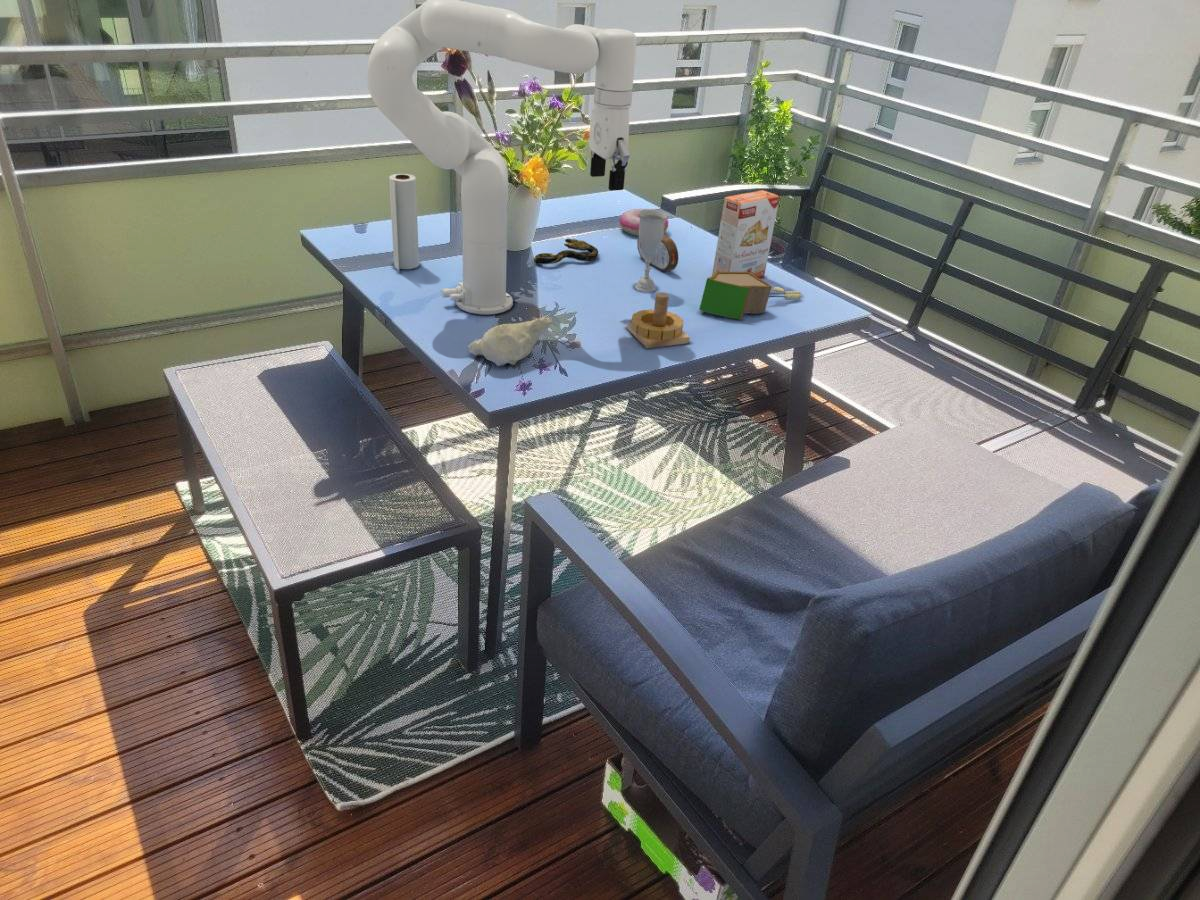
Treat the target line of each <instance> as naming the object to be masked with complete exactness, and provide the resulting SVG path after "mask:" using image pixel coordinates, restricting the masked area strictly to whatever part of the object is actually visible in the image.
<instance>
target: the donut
mask: <svg viewBox="0 0 1200 900" xmlns="http://www.w3.org/2000/svg"><path fill="white" fill-rule="evenodd" d="M645 209H646V208H632V209H628V210H626V211H625V212H623V213H621V216H620V217H619V226H620V228H621V229H622V230H623V231H624V232H625V233H627V234H629V235H632V236H635V237H638V234H639V224H640V217H639V214H638V212H639V211H641V210H645ZM668 228H669V221H668V217H667V218H666V220H665V226H664V233H666V231H667V230H668Z"/></svg>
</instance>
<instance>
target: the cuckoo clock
mask: <svg viewBox="0 0 1200 900" xmlns="http://www.w3.org/2000/svg"><path fill="white" fill-rule="evenodd" d="M772 291H773V292H772ZM775 292H776V293H775ZM769 298H784V299H785V300H800V299H801V298H802V292H801V291H799V290H798V291H797V290H795V291H794V290H792V291H791V290H787V291H786V290H785V289H784V288H782V287H779V286H774V287H773V285H771V284H770V283H768V282H766V281H764V280H763V279H761V278H758V277H756V276H755V275H753V274H751V273H750V272H719V270H717V271H716V273H715V274H714V275H713V276H712V275H711V276H708V277H707V278H706V281H705V285H704V290H703V294H702V296H701V302H700V305H699V310H700V311H702V312H705V313H708V314H713V315H716V316H721V317H725V318H730V319H735V320H739V321H742V319H743V316H744V314H757V315H758V314H764V313H765V311H766V308H767V305H768V302H769Z"/></svg>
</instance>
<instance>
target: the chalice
mask: <svg viewBox="0 0 1200 900" xmlns="http://www.w3.org/2000/svg"><path fill="white" fill-rule="evenodd" d="M644 209H645V210H641V211H639V212H638V214H639V217H640V224H639V239H640V243H641V246H642V248H643V251H644V252H645V253H647V258H646V260H644V262H645V266H644V267H643V270H644V275H643V276H641V277H640V278H639V279H638V280H637V282H636V284H635V286H634V288H635V290H637V291H639V292H643V293H651V292H655V291H656V289H657V288H656V286H655V285H656V284H655V280H653V278H651V277H650V274H649V273H650V271H651V270H652V268H651V264H650V263H651V258H650V256H651V254H652V253H655V251H656V249H657V248H658V246H659V245H660V243H661V240H662V238H663V235H665V232H664V226H665V220H666V218H667V219H668V216H669V215H668V213H667V212H665V211H663V210H660V209H655V208H653V209H652V208H644Z"/></svg>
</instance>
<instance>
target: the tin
mask: <svg viewBox="0 0 1200 900" xmlns="http://www.w3.org/2000/svg"><path fill="white" fill-rule="evenodd" d="M636 241H637V243H636V244H637V251H638V254H639V255H640V257H641V259H642V260H643V261H645V260H646V258H647V253H645V252H644V251H643V248H642V246H641V243H640V239H639V234H638V236H637V240H636ZM650 258H651V263H650V266H653V267H654V268H656V269H657V270H659V271H661V272H668V271H673V270H675V269H676V268H677V266H678V263H679V250H678V247H677V245H676V243H675V241H674V240H673V239H672V238H671V237H670V236H668V235H666V234H664V235H663V238H662V240H661V243H660V245H659V246H658V248H657V249H656V251H655V253H652V254H651V256H650Z"/></svg>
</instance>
